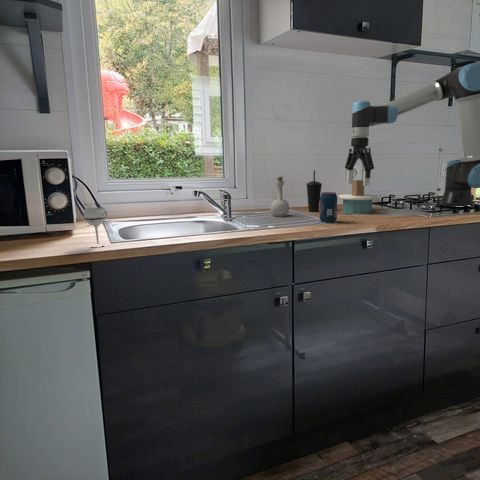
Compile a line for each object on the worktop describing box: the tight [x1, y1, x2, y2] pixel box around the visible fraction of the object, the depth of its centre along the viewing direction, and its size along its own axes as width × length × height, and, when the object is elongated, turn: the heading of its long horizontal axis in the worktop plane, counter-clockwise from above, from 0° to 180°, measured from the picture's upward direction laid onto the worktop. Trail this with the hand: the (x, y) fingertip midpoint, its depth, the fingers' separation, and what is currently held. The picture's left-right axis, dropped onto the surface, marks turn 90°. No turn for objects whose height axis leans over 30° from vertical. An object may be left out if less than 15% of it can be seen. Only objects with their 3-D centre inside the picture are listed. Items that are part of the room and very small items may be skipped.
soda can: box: [319, 191, 338, 223], centre depth 159 cm, size 7×7×12 cm
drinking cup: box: [305, 170, 323, 213], centre depth 188 cm, size 8×8×20 cm
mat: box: [374, 208, 433, 217], centre depth 177 cm, size 18×18×1 cm
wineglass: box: [83, 207, 107, 244], centre depth 123 cm, size 7×7×12 cm
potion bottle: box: [270, 176, 290, 217], centre depth 178 cm, size 9×9×18 cm
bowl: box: [342, 199, 373, 216], centre depth 181 cm, size 13×13×7 cm
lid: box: [338, 179, 378, 201], centre depth 180 cm, size 17×17×8 cm
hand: (358, 184), depth 179 cm, fingers open, 13 cm apart
